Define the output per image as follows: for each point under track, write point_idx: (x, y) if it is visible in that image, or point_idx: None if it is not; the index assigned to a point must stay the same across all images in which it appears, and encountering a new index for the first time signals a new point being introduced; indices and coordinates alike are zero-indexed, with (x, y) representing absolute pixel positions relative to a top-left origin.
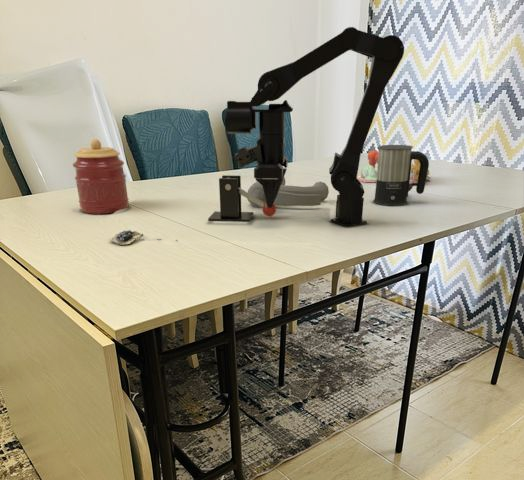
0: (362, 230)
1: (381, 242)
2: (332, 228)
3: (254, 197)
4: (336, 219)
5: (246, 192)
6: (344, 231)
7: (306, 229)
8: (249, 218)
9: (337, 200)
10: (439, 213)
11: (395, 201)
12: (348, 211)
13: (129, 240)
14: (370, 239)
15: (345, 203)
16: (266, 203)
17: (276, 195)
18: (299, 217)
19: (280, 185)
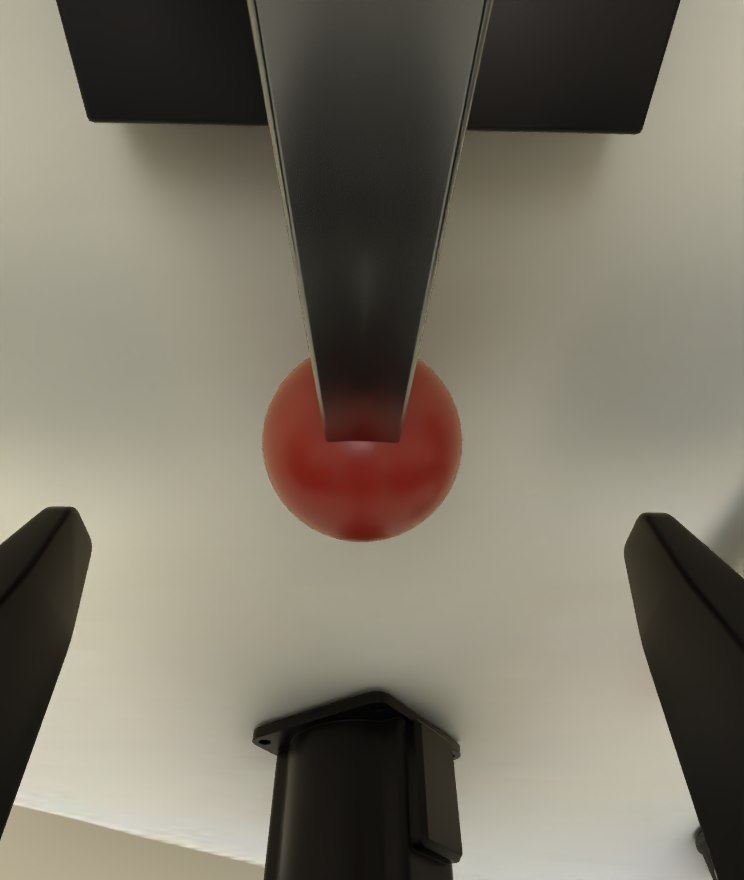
0: (208, 759)
1: (25, 786)
2: (211, 689)
3: (365, 352)
4: (371, 718)
5: (375, 194)
6: (161, 720)
7: (134, 599)
8: (178, 120)
9: (394, 853)
10: (527, 877)
11: (707, 856)
12: (281, 821)
13: None
14: (54, 769)
15: (282, 872)
16: (319, 475)
17: (638, 608)
18: (515, 559)
19: (691, 795)
